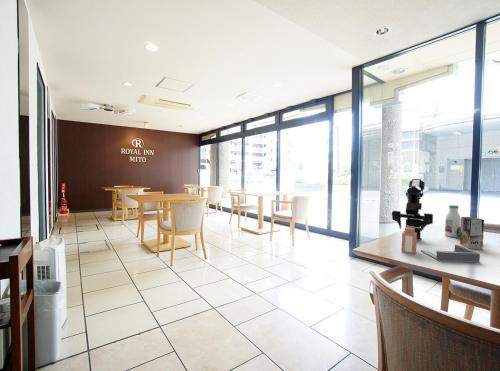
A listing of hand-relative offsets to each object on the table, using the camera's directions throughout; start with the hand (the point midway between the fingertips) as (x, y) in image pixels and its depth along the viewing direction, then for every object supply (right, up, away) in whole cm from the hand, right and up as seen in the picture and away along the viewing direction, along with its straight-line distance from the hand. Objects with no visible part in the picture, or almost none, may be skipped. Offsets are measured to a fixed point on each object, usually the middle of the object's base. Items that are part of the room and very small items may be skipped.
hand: (410, 229), depth 135 cm
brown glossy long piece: (+47, -10, +19) cm, 52 cm away
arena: (+13, -11, -10) cm, 19 cm away
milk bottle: (+46, -10, +31) cm, 56 cm away
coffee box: (+38, -11, +7) cm, 40 cm away
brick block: (-3, -11, -3) cm, 12 cm away
